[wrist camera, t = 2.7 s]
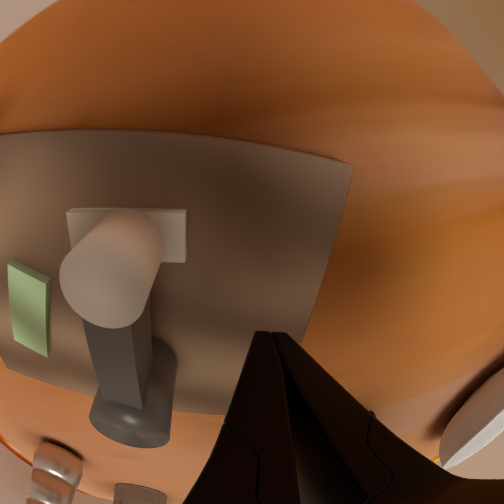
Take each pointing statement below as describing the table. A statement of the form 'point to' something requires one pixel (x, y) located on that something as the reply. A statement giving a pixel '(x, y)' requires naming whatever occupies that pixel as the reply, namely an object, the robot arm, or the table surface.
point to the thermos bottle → (137, 495)
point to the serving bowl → (474, 422)
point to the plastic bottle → (54, 475)
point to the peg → (123, 327)
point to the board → (166, 246)
